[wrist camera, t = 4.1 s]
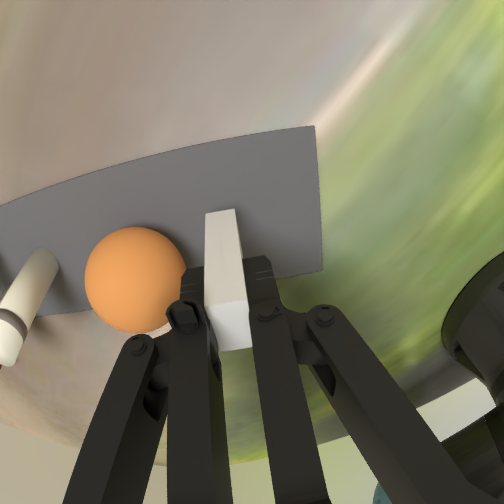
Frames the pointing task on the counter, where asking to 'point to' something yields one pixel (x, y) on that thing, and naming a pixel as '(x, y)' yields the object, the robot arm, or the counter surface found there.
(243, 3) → the counter surface
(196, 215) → the grey flat board
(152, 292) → the ball
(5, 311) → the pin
